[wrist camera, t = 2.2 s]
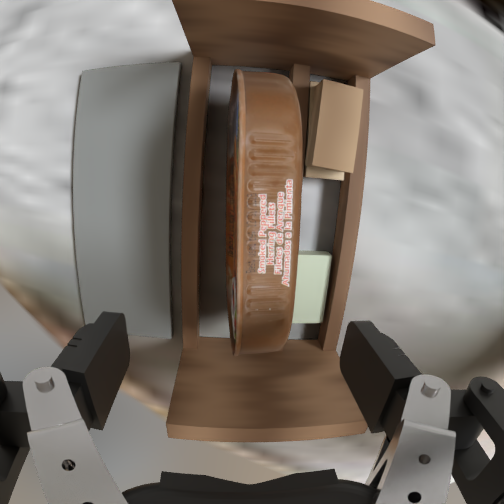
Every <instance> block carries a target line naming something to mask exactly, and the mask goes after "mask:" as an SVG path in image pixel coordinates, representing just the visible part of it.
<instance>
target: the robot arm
mask: <svg viewBox="0 0 504 504" xmlns="http://www.w3.org/2000/svg"><path fill="white" fill-rule="evenodd" d="M129 361H130V349H129V342H128V335H127V327H126V319H125V315H124V314H123V313H117V312H107V311H103V312H102V313H101V314H100V316H99V317H98V318H97V320H96V321H95V322H94V323H89V324H87V325H85V326H84V327H82V328H80V329H79V330H78V331H77V333H76V334H75V335H74V336H73V339H71V340H70V342H69V343H68V346H66V347H65V348H64V349H63V351H62V352H61V354H60V355H59V356H58V358H57V359H56V360H55V362H54V363H53V364H52V366H51V367H41V368H37V369H35V370H33V371H31V372H29V373H28V374H27V375H26V376H25V378H24V380H23V382H20V381H4V380H3V378H2V375H1V373H0V504H8V503H9V500H10V497H11V495H12V492H13V489H14V487H15V484H16V481H17V479H18V476H19V474H20V471H21V469H22V466H23V464H24V462H25V459H26V457H27V455H28V452H29V450H30V449H31V453H32V456H33V459H34V463H35V467H36V470H37V473H38V476H39V480H40V483H41V486H42V488H43V491H44V494H45V496H46V499H47V502H48V504H446V500H447V495H448V490H449V485H450V479H451V474H452V476H453V478H454V480H455V482H456V484H457V485H458V487H459V489H460V491H461V493H462V495H463V497H464V499H465V501H466V503H467V504H504V389H503V388H502V387H501V386H500V385H499V384H498V383H497V382H495V381H494V380H492V379H490V378H487V377H476V378H473V379H472V380H471V382H470V384H469V386H468V388H467V390H451V389H450V387H449V385H448V384H447V383H446V382H445V381H444V380H442V379H441V378H439V377H436V376H433V375H428V374H421V373H420V372H419V370H418V369H417V368H416V367H415V365H414V364H413V363H412V362H411V361H410V359H409V358H408V357H407V356H406V355H405V353H404V352H403V351H402V350H401V349H399V346H398V345H397V344H396V343H395V342H394V340H393V339H391V338H390V337H388V336H386V335H385V334H383V333H380V332H379V331H378V329H377V328H376V327H375V326H374V325H373V323H372V322H371V321H351V322H350V323H349V324H348V326H347V330H346V334H345V339H344V343H343V347H342V351H341V355H340V370H341V373H342V375H343V377H344V379H345V381H346V383H347V385H348V387H349V389H350V391H351V393H352V395H353V397H354V399H355V401H356V403H357V405H358V407H359V409H360V411H361V413H362V415H363V417H364V419H365V421H366V423H367V425H368V427H369V429H370V431H371V433H377V432H382V431H385V433H386V436H385V438H384V440H383V442H382V445H381V448H380V450H379V453H378V455H377V458H376V460H375V463H374V465H373V468H372V470H371V472H370V475H369V477H368V479H367V481H366V483H365V484H362V483H359V482H354V481H349V480H342V479H338V478H337V475H336V472H335V469H329V470H322V471H314V472H305V473H295V474H291V475H288V476H284V477H281V478H277V479H273V480H270V481H266V482H262V483H257V484H250V485H249V484H242V483H237V482H232V481H227V480H223V479H219V478H214V477H210V476H206V475H193V474H181V473H171V472H163V471H162V473H161V479H160V482H158V483H150V484H144V485H141V486H137V487H134V488H131V489H128V490H126V491H124V492H122V493H121V492H120V490H119V488H118V487H117V485H116V483H115V482H114V480H113V478H112V476H111V475H110V473H109V471H108V469H107V467H106V465H105V463H104V462H103V460H102V458H101V456H100V454H99V452H98V450H97V448H96V446H95V444H94V442H93V440H92V438H91V436H90V434H89V430H90V428H94V429H99V430H103V428H104V425H105V423H106V420H107V417H108V415H109V412H110V410H111V407H112V405H113V402H114V400H115V397H116V395H117V392H118V390H119V388H120V385H121V383H122V380H123V378H124V376H125V373H126V371H127V368H128V366H129ZM483 429H485V431H486V432H487V434H488V435H489V436H490V438H491V439H492V441H493V442H494V444H495V454H494V456H493V458H492V459H491V461H490V459H489V458H488V456H487V454H486V453H485V451H484V450H483V448H482V447H481V445H480V444H479V442H478V441H477V438H478V436H479V435H480V433H481V432H482V430H483Z"/></svg>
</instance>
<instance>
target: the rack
mask: <svg viewBox="0 0 504 504" xmlns="http://www.w3.org/2000/svg"><path fill="white" fill-rule="evenodd" d="M172 2H173V4H174V7H175V9H176V12H177V15H178V17H179V20H180V22H181V25H182V28H183V30H184V33H185V36H186V38H187V41H188V43H189V46H190V49H191V51H192V54H193V66H192V75H191V84H190V94H189V104H188V116H187V128H186V142H185V158H184V176H183V199H182V239H181V293H182V333H183V350H182V354H181V358H180V363H179V367H178V371H177V376H176V380H175V385H174V389H173V393H172V398H171V403H170V407H169V412H168V417H167V421H166V427H167V433H168V437H169V438H177V439H188V440H201V441H219V442H282V441H300V440H313V439H323V438H333V437H341V436H349V435H356V434H362V433H365V431H366V429H367V427H368V425H367V423H366V421H365V419H364V417H363V415H362V413H361V411H360V409H359V407H358V405H357V403H356V401H355V399H354V397H353V395H352V393H351V391H350V389H349V387H348V385H347V383H346V381H345V379H344V377H343V375H342V373H341V370H340V358H339V356H338V354H337V352H336V347H337V342H338V338H339V334H340V329H341V325H342V320H343V315H344V310H345V305H346V300H347V295H348V290H349V285H350V279H351V274H352V268H353V262H354V256H355V250H356V243H357V236H358V229H359V222H360V214H361V206H362V198H363V189H364V179H365V169H366V157H367V144H368V129H369V108H370V78H372V77H374V76H376V75H378V74H379V73H381V72H383V71H385V70H387V69H389V68H391V67H393V66H395V65H396V64H398V63H400V62H402V61H404V60H406V59H408V58H410V57H412V56H414V55H416V54H418V53H420V52H422V51H425V50H427V49H429V48H431V47H433V46H435V35H434V27H433V24H432V23H430V22H427V21H425V20H423V19H420V18H418V17H416V16H413V15H411V14H408V13H405V12H403V11H400V10H397V9H395V8H392V7H389V6H386V5H383V4H380V3H377V2H374V1H370V0H172ZM212 65H229V66H246V67H258V68H269V69H278V70H287V71H289V79H290V81H291V82H292V84H293V86H294V88H295V90H296V93H297V97H298V101H299V105H300V113H301V121H302V140H303V147H302V181H303V170H304V158H305V145H306V131H307V116H308V100H309V81H310V74H314V75H320V76H326V77H331V78H336V79H341V80H346V81H347V85H349V86H353V87H356V88H360V89H363V100H362V109H361V118H360V127H359V135H358V142H357V150H356V157H355V164H354V170H353V173H348V172H344V180H341V186H340V196H339V205H338V214H337V222H336V230H335V238H334V245H333V252H332V259H331V267H330V275H329V282H328V289H327V296H326V302H325V309H324V315H323V321H322V323H321V325H320V330H319V335H318V340H287V342H286V343H285V345H284V346H283V347H282V348H281V349H280V350H278V351H275V352H268V353H256V354H240V355H238V356H233V353H232V348H231V341H230V338H213V337H199V271H200V232H201V206H202V185H203V167H204V151H205V137H206V124H207V111H208V100H209V89H210V79H211V69H212ZM301 193H302V188H301Z"/></svg>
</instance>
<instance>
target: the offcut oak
mask: <svg viewBox="0 0 504 504" xmlns="http://www.w3.org/2000/svg"><path fill="white" fill-rule="evenodd" d="M362 100H363V89H360V88H356V87H353V86H349V85H346V84H342V83H338V82H334V81H330V80H326V79H323V80H322V81H321V82H320V83H318V84H317V85H316V86H315V94H314V102H313V110H312V117H311V125H310V132H309V139H308V146H307V153H306V160H305V165H309V166H314V167H320V168H325V169H330V170H335V171H340V172H348V173H353V170H354V164H355V157H356V150H357V142H358V135H359V127H360V118H361V109H362Z"/></svg>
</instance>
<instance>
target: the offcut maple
mask: <svg viewBox="0 0 504 504" xmlns="http://www.w3.org/2000/svg"><path fill="white" fill-rule="evenodd" d="M318 83H320V82H312V81H310V82H309V100H308V116H307V131H306V145H305V158H304V170H303V177H312V178H323V179H334V180H344V172H340V171H335V170H330V169H325V168H320V167H314V166H309V165H305V160H306V153H307V146H308V139H309V132H310V125H311V117H312V110H313V102H314V94H315V86H316V85H317V84H318Z"/></svg>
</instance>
